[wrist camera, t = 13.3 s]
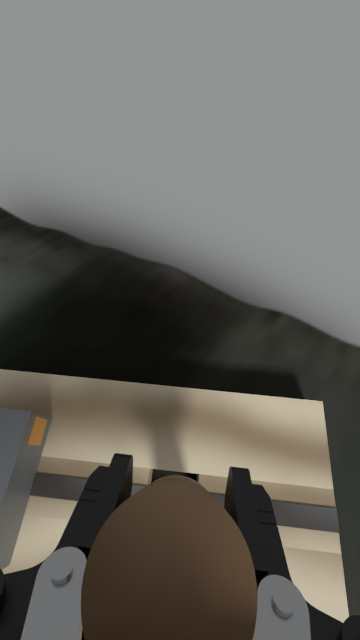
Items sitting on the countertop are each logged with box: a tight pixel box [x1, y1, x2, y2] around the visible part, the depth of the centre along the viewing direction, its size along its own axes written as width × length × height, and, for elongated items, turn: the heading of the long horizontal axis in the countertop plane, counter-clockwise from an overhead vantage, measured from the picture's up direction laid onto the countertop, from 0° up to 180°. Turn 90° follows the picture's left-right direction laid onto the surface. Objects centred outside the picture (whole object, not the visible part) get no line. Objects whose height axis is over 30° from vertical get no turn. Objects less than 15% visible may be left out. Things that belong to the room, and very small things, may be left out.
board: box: [0, 369, 349, 623], centre depth 17 cm, size 22×24×3 cm
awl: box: [81, 475, 258, 640], centre depth 11 cm, size 4×4×11 cm
